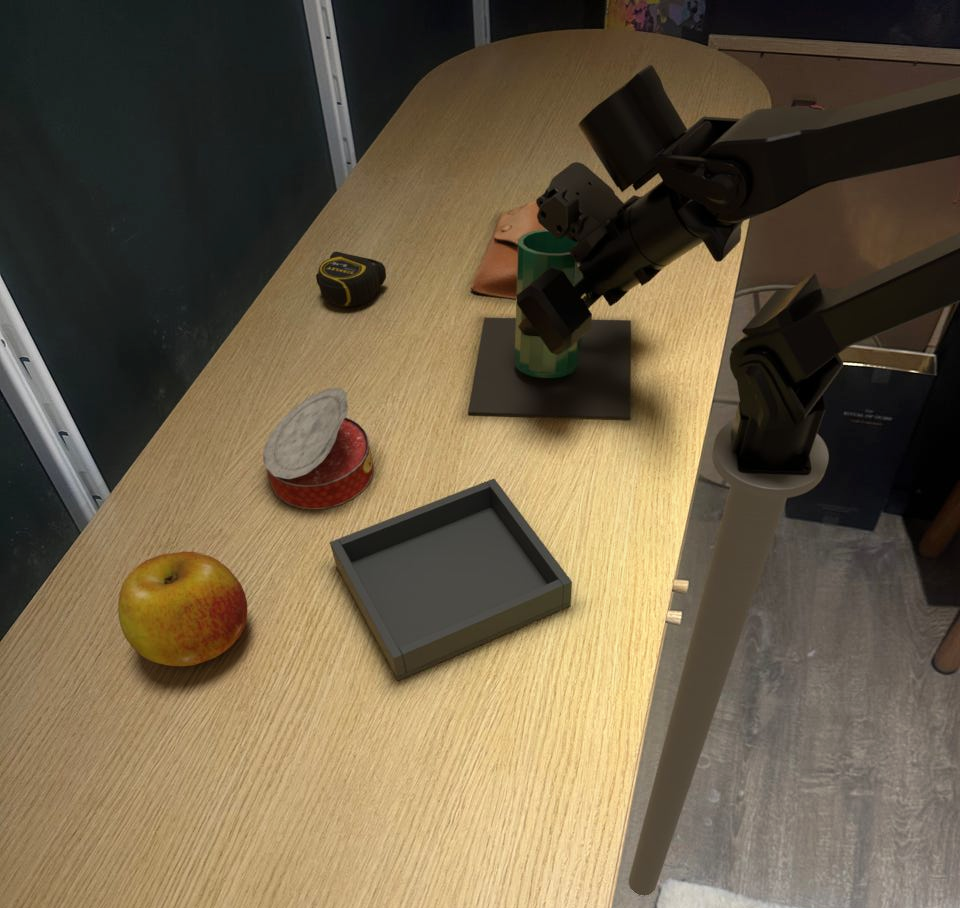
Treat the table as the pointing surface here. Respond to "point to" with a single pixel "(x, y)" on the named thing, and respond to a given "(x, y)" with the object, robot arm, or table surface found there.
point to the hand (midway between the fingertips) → (543, 311)
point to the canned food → (318, 453)
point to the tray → (450, 577)
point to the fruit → (182, 608)
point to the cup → (529, 351)
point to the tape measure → (349, 279)
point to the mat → (580, 394)
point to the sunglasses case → (505, 252)
